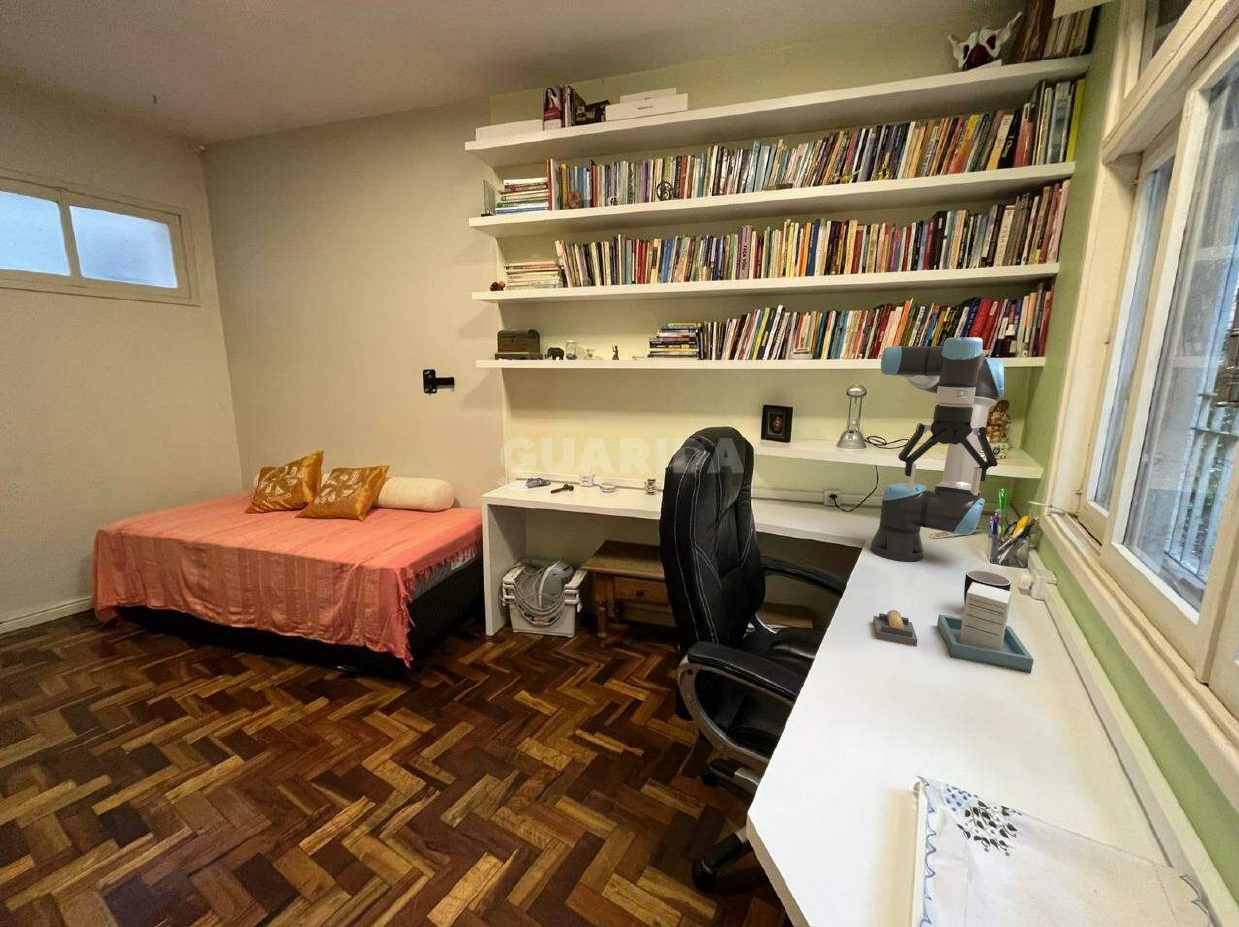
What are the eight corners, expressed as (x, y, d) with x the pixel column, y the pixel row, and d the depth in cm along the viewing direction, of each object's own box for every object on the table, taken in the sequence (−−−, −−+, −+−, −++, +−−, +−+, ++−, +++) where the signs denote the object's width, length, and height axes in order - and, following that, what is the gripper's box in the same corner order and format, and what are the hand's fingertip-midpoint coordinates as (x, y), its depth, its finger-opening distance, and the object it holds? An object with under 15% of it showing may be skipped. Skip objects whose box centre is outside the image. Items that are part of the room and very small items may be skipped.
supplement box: (963, 632, 116) (972, 581, 113) (1003, 644, 111) (1013, 591, 108) (957, 644, 110) (965, 591, 108) (998, 658, 106) (1008, 603, 103)
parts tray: (936, 625, 120) (938, 614, 119) (1008, 638, 115) (1010, 626, 114) (950, 657, 107) (952, 644, 106) (1031, 672, 102) (1033, 659, 101)
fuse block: (873, 621, 121) (875, 604, 120) (910, 628, 118) (913, 611, 117) (876, 638, 114) (878, 620, 113) (916, 646, 111) (919, 627, 110)
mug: (1001, 628, 119) (1008, 588, 117) (956, 615, 125) (963, 577, 123) (1007, 610, 128) (1014, 573, 126) (965, 599, 133) (971, 563, 131)
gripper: (897, 404, 119) (886, 490, 124) (1024, 408, 111) (1008, 500, 116) (892, 401, 126) (882, 483, 131) (1011, 404, 118) (996, 491, 122)
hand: (941, 491), depth 123 cm, fingers open, 13 cm apart
